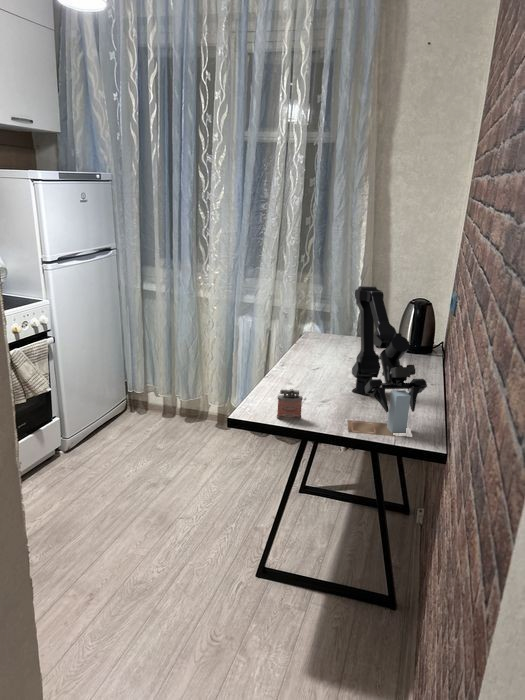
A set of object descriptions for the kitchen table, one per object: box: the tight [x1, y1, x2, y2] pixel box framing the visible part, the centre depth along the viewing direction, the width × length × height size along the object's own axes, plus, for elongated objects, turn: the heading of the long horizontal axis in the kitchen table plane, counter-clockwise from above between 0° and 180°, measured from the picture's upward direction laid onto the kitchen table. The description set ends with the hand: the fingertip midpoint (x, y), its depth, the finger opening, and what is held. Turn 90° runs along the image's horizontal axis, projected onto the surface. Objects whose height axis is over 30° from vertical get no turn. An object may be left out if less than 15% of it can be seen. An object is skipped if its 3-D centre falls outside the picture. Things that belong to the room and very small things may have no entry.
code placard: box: [346, 419, 395, 437], centre depth 171 cm, size 20×9×1 cm, turn 83°
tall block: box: [386, 389, 411, 433], centre depth 169 cm, size 4×4×12 cm
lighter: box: [276, 388, 303, 421], centre depth 175 cm, size 8×3×10 cm, turn 92°
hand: (400, 411), depth 167 cm, fingers open, 8 cm apart
